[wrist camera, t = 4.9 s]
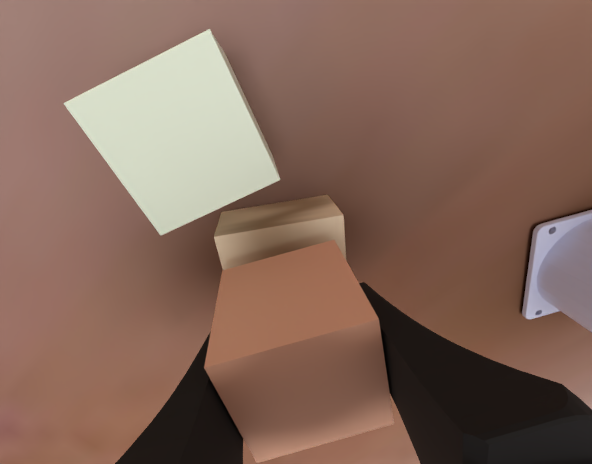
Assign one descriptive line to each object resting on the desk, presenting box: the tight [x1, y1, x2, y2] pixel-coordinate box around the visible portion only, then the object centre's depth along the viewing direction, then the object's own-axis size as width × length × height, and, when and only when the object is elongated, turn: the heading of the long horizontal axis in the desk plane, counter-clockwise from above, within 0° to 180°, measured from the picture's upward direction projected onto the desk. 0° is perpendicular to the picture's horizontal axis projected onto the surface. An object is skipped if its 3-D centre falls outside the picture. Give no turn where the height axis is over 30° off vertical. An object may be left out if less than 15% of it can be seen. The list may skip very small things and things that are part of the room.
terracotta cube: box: [204, 240, 394, 463], centre depth 11 cm, size 5×5×5 cm
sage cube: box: [64, 29, 280, 235], centre depth 12 cm, size 5×5×5 cm
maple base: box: [214, 195, 346, 270], centre depth 16 cm, size 6×6×4 cm
